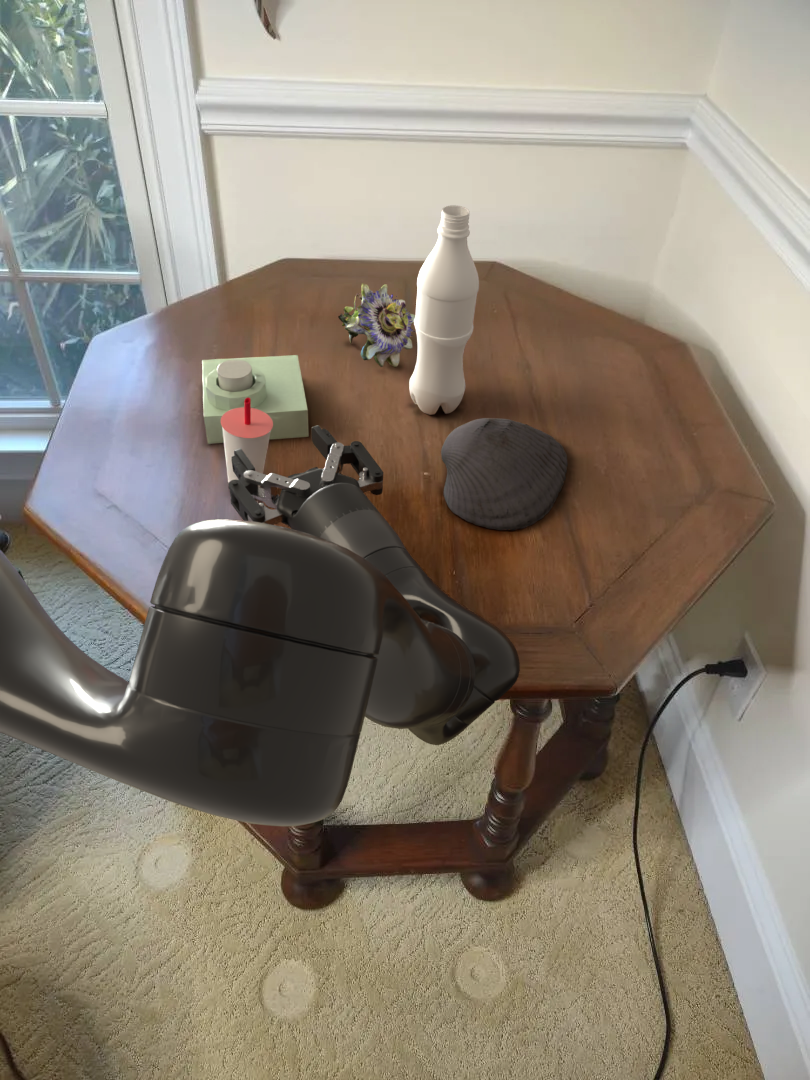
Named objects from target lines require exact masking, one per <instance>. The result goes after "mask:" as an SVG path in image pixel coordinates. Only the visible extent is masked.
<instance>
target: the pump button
mask: <svg viewBox="0 0 810 1080" xmlns="http://www.w3.org/2000/svg"><path fill="white" fill-rule="evenodd" d="M217 375H218V382H219V386H220V388H221V389H222V390H225V391H229V392H240V391H244V390H247V389H249V388H251V387H252V385H253V375H252V367H251V365H250V364H249V363H248V362H246V361H243V360H228V361H225V362H223V363H221V364H220V365H219V366H218V368H217Z"/></svg>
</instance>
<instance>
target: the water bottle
mask: <svg viewBox="0 0 810 1080" xmlns="http://www.w3.org/2000/svg"><path fill="white" fill-rule="evenodd" d="M469 223H470V210H469V209H468V208H467V207H465V206H461V205H456V204H451V205H446V206H444V207H442V209H441V214H440V222H439V223H438V227H437V230H436V232H437V234H438V238H437V241H436V243H435V245H434V247H433V249H431V251H430V252H429V254H428V256H427V257H426V259H425V261H424V262H423V264H422V266H421V267H420V269H419V271H418V275H417V278H416V287H417V289H416V290H417V291H416V301H415V302H416V303H415V304H416V305H415V319H414V323H413V325H414V329H415V334H416V342H417V343H416V344H417V354H416V355H417V356H416V362H415V366H414V370H413V372H412V374H411V376H410V378H409V380H408V387H409V389H408V390H409V395H410V398H411V400H412V402H413V404H414V405H417V407H418V409H419V411H421V412H422V413H423V414H427V415H435V414H436V413H437V412H438V411H439V408H440V407H441V409H442V411H443V412H444V414H446V415H447V414H451V413H452V412H454V411H455V410H456V409H457V408H458V406H459V405H460V404H461V402H462V401H463V398H464V394H465V391H466V379H465V374H464V353H465V348H466V345H467V344H468V341H469V340H470V339H471V337H472V334H473V331H474V328H475V327H474V326H475V325H474V320H475V319H474V318H475V311H476V305H477V297H478V293H479V290H480V278H479V273H478V269H477V267H476V263H475V262H474V259H473V257H472V254H471V252H470V249H469V246H468V237H470V235H471V230H470V225H469Z"/></svg>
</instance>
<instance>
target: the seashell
mask: <svg viewBox="0 0 810 1080" xmlns="http://www.w3.org/2000/svg"><path fill="white" fill-rule="evenodd" d="M440 456H441V457H440V458H441V460H442V462H443V464H444V465H445V468H446V478H445V482H444V487H443V497H444V501H445V503H446V505H447V508H449V509H450V511H451V512H452V513H453V514H454V515H457V516H458V517H460V518H461V519H462V520H464V521H466V522H468V523H471V524H474V525H475V526H480V527H482V528H486V529H489V530H496V531H516V530H523V529H526V528H528V527H530V526H533V525H535V524H536V523H537V522H538V521H541V520H542V519H544V518H545V516H546V515H548V514H549V513H550V511H551V510H552V509H553V507H554V504H555V503H556V501H557V498H559V493H561V491H562V488H563V486H564V484H565V481H566V478H567V477H566V474H567V472H568V470H567V469H568V455H567V453H566V451H565V449H564V446H563V445H562V444H561V443H560V442H559V441H557V440H556V439H555V438H554V437H553V436H552V435H550V434H548V433H547V432H544V431H542V430H540V429H538V428H536V427H533V426H532V425H529V424H527V423H523V422H520V421H515V420H513V419H508V418H500V417H497V418H495V417H481V418H477V419H473V420H471V421H468V422H466V423H463V424H461V425H459V426H457V427H456V428H454V429H453V430H452V431H450V433H449V434H448V435H447V436H446V438H445V440H444V442H443V443H442V446H441V450H440Z"/></svg>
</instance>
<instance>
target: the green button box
mask: <svg viewBox="0 0 810 1080" xmlns="http://www.w3.org/2000/svg"><path fill="white" fill-rule="evenodd" d="M228 360H243V361H246V362H248V363H249V364H250V365H251V367H252V375H253V385H252V387H251V388H249V389H247V390H244V391H240V392H229V391H225V390H222V389H221V388H220V386H219V382H218V375H217V368H218V366H219V365H220V364H221V363H223V362H225V361H228ZM201 364H202V365H201V366H202V368H201V369H202V404H203V405H202V406H203V408H202V409H203V410H202V411H203V423H204V428H205V429H204V430H205V434H206V442H207V445H211V444H212V445H213V444H224V438H223V428H222V425H221V417H222V416H223V414H224V413H226V412H227V411H229V410H231V409H235V408H241V407H244V400H245V399H246V398H250V399H251V408H254V409H258V410H261V411H263V412H265V413H266V414H267V415H269V416H270V418H271V419H272V421H273V427H272V429H271V432H270V438H269V441H270V440H282V439H283V440H284V439H295V438H307V437H308V438H309V436H310V435H309V434H310V433H309V432H310V431H309V409H308V403H307V397H306V392H305V387H304V382H303V376H302V371H301V365H300V360H299V355H298V354H293V355H291V354H289V355H273V356H252V357H251V356H250V357H235V358H234V357H233V358H216V359H215V358H213V359H202V360H201Z"/></svg>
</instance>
